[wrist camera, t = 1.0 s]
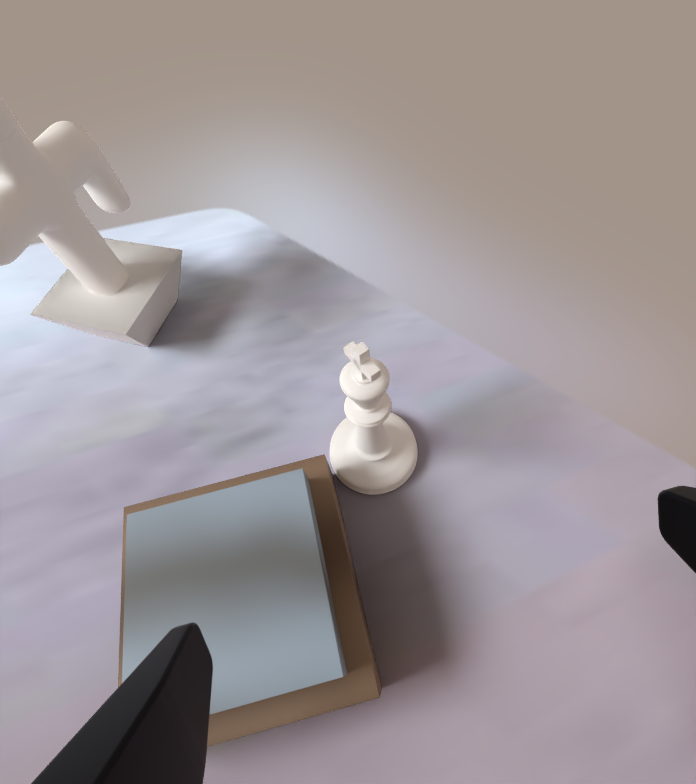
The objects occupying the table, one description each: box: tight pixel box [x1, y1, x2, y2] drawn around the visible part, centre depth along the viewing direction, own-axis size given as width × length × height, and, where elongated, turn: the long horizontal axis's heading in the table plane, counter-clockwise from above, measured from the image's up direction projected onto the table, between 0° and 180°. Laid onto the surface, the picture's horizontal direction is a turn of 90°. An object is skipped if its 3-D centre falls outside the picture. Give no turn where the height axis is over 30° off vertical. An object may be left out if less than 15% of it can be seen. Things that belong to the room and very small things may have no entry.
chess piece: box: [330, 342, 418, 495], centre depth 20 cm, size 5×5×10 cm
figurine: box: [0, 95, 182, 347], centre depth 24 cm, size 7×9×15 cm
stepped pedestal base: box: [118, 455, 382, 746], centre depth 19 cm, size 10×10×4 cm
